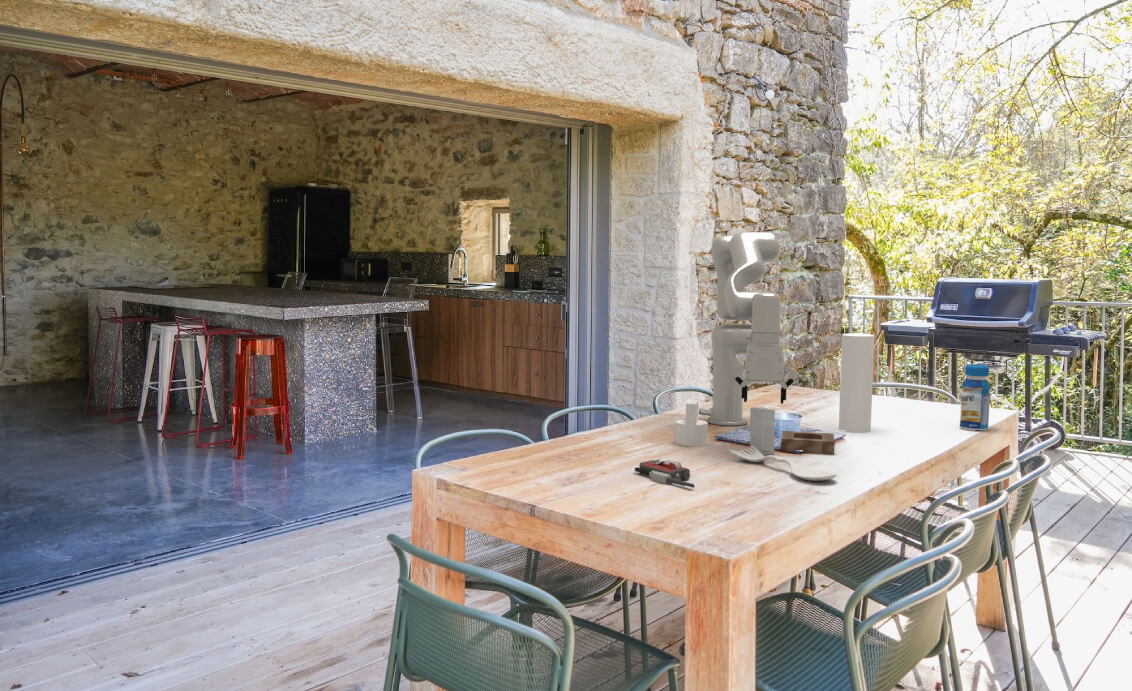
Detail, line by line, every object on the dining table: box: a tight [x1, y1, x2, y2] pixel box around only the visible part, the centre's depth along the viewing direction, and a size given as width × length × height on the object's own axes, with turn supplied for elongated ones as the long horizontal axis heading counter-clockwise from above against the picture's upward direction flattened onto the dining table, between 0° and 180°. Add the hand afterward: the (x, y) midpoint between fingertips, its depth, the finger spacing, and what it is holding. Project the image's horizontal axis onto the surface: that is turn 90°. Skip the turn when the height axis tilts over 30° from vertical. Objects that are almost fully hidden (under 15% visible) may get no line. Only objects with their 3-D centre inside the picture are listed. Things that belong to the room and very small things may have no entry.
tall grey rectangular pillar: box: [838, 332, 875, 433], centre depth 272 cm, size 9×9×30 cm
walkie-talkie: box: [634, 458, 695, 488], centre depth 210 cm, size 9×4×20 cm
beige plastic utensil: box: [727, 446, 838, 482], centre depth 220 cm, size 9×32×4 cm, turn 30°
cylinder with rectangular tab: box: [674, 398, 709, 447], centre depth 252 cm, size 9×9×12 cm
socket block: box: [780, 430, 836, 456], centre depth 245 cm, size 14×12×4 cm
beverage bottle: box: [959, 364, 992, 432], centre depth 276 cm, size 8×8×20 cm
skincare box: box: [749, 406, 776, 456], centre depth 240 cm, size 6×4×12 cm
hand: (763, 402), depth 238 cm, fingers open, 9 cm apart
